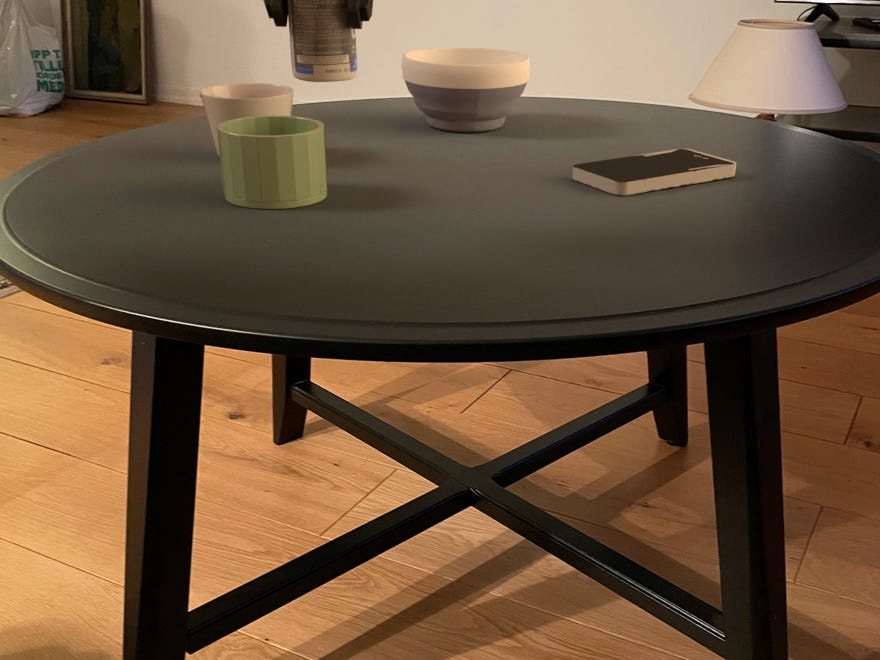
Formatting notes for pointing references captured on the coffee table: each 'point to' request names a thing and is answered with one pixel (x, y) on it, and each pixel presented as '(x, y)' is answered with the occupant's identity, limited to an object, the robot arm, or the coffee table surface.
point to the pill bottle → (321, 40)
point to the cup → (273, 161)
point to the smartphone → (653, 171)
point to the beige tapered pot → (244, 102)
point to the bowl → (465, 86)
